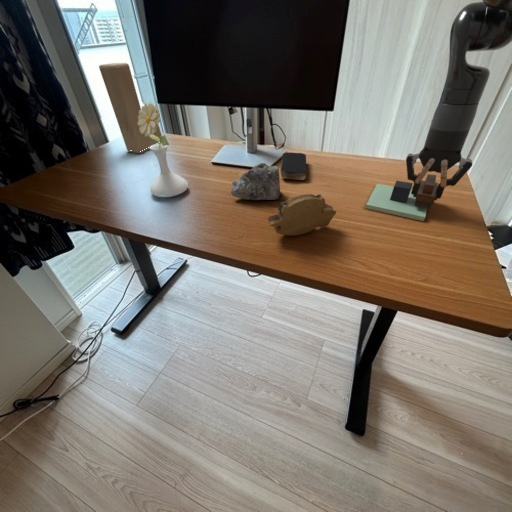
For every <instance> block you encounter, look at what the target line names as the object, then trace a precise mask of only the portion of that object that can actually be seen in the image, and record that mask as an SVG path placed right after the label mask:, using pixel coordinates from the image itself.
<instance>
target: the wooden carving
mask: <svg viewBox="0 0 512 512" xmlns="http://www.w3.org/2000/svg"><path fill="white" fill-rule="evenodd" d="M336 214H337V210H336V209H335V208H333V206H332V205H329V204H327V203H326V199H325V197H324V195H322V194H321V193H318V194H317V195H315V194H311V193H305V194H301V195H297V196H293V197H291V198H288V199H287V200H285V201H281V202H280V204H279V205H278V214H273V215H270V216H268V217H267V221H268V222H269V223H268V225H269V226H270V227H273V228H274V230H275V233H276V234H278V235H282V236H291V237H292V236H294V237H295V236H300V235H304V234H307V233H310V232H312V231H313V230H315V229H317V228H324V227H327V226H329V225H330V223H331V221H332V220H333V218H334V216H335V215H336Z"/></svg>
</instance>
